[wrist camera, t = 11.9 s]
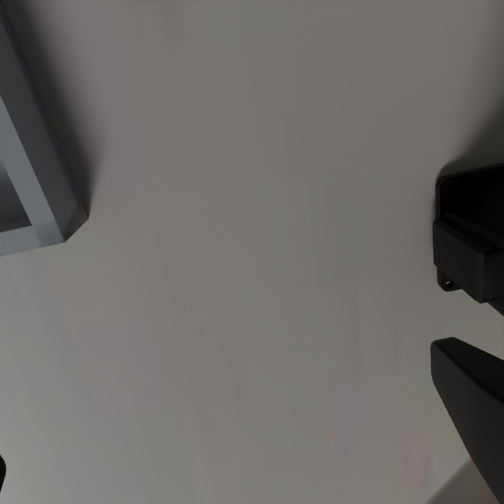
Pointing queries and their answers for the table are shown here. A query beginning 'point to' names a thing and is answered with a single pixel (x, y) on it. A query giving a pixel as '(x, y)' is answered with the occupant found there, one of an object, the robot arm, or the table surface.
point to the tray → (30, 162)
